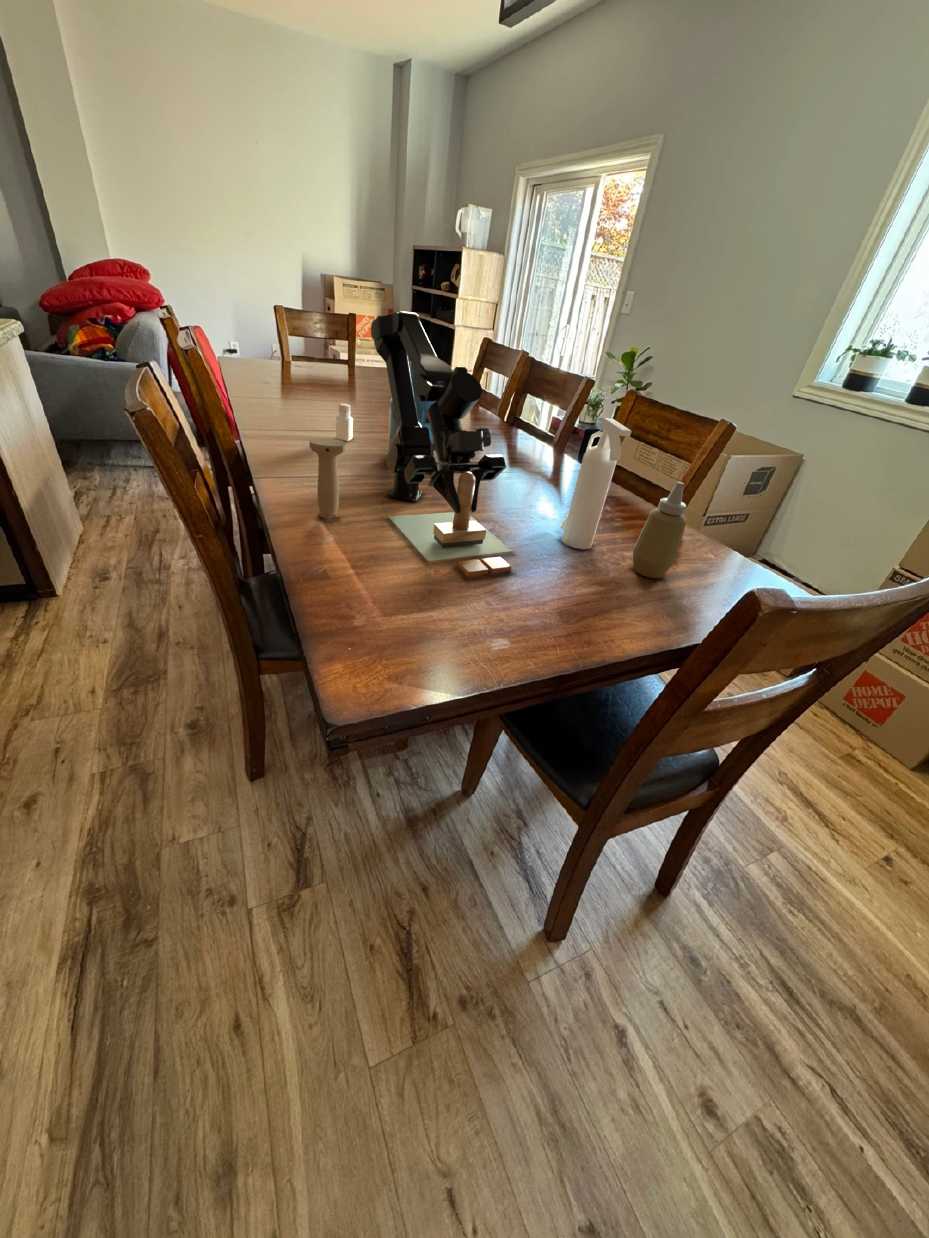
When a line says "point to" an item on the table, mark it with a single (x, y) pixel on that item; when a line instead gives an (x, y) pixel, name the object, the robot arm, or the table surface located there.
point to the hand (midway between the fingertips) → (466, 512)
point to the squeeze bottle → (661, 536)
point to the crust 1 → (472, 567)
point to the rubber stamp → (461, 519)
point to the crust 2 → (496, 564)
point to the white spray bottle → (593, 485)
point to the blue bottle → (421, 413)
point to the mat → (422, 538)
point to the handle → (327, 474)
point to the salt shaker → (344, 423)
